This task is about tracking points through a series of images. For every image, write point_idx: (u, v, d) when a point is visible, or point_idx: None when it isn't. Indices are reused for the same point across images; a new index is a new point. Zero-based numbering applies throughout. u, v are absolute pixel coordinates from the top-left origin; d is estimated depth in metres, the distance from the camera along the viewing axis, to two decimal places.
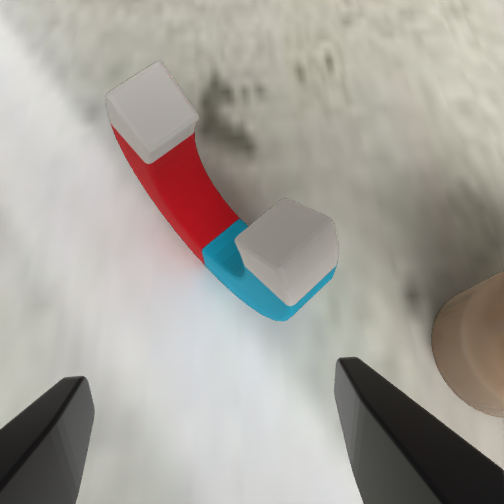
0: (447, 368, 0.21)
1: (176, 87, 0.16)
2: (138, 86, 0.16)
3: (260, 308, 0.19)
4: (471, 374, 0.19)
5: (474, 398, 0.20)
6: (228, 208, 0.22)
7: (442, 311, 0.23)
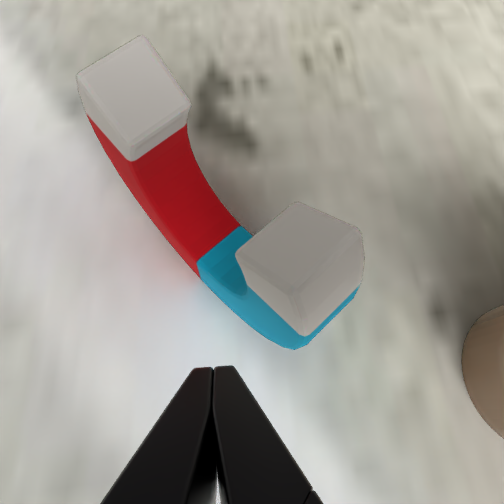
0: (482, 398, 0.18)
1: (163, 67, 0.13)
2: (116, 65, 0.13)
3: (265, 332, 0.16)
4: None
5: None
6: (227, 213, 0.19)
7: (474, 331, 0.20)
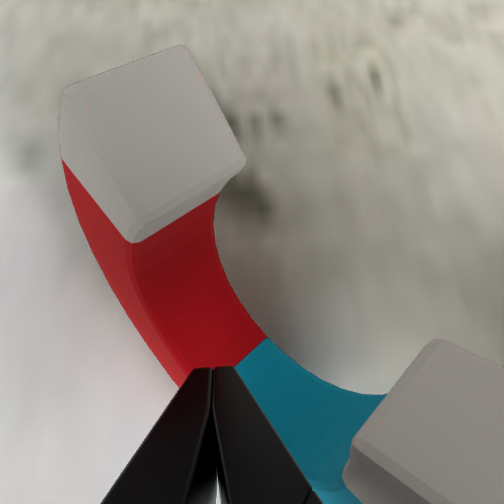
0: None
1: (211, 100, 0.08)
2: (138, 84, 0.07)
3: None
4: None
5: None
6: (249, 319, 0.13)
7: None
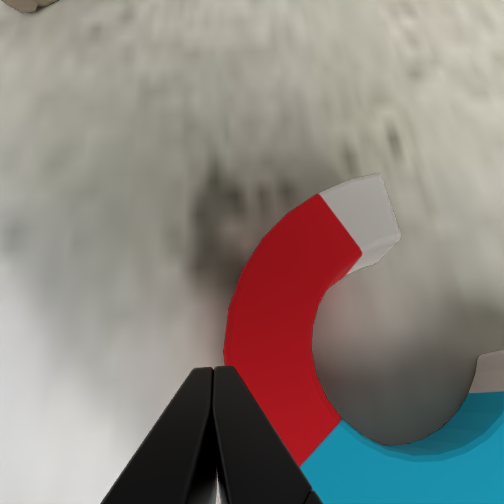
0: None
1: None
2: None
3: None
4: None
5: None
6: None
7: None
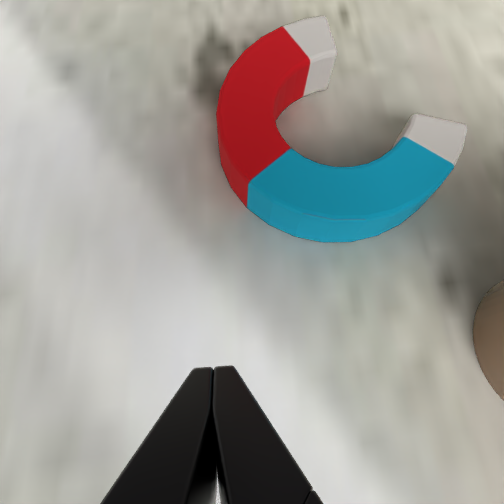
0: (495, 370, 0.17)
1: None
2: None
3: (374, 201, 0.18)
4: None
5: None
6: None
7: (486, 301, 0.19)
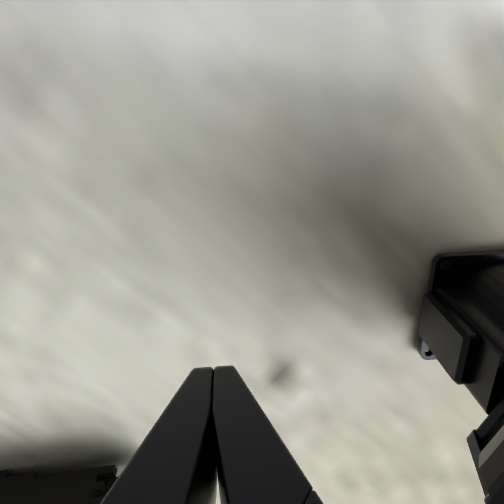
0: None
1: None
2: None
3: None
4: None
5: None
6: None
7: None
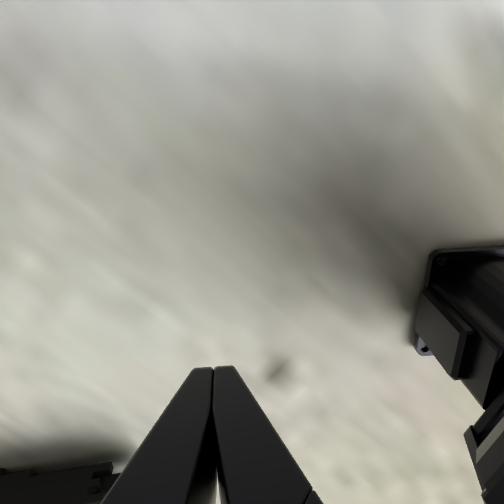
0: None
1: None
2: None
3: None
4: None
5: None
6: None
7: None
